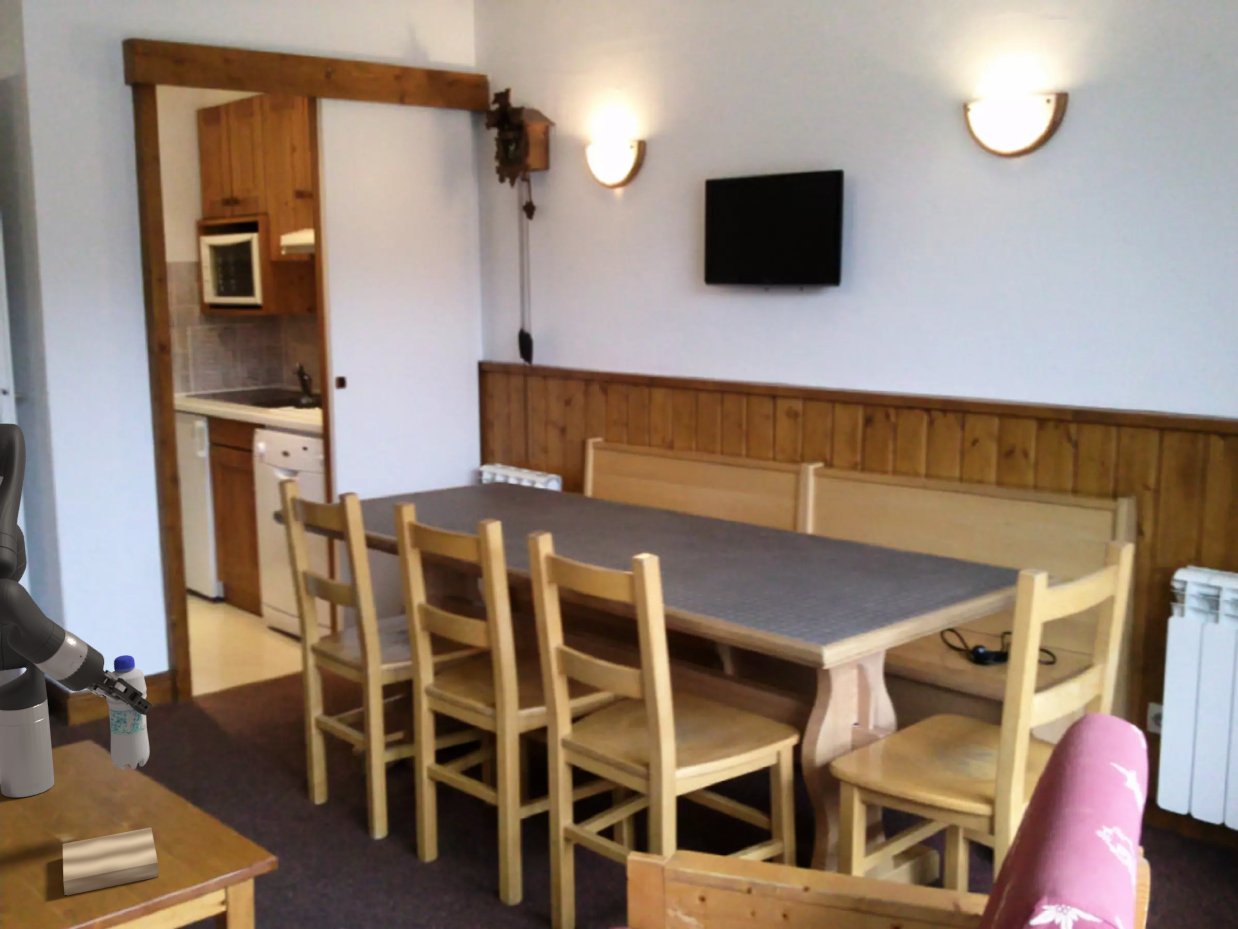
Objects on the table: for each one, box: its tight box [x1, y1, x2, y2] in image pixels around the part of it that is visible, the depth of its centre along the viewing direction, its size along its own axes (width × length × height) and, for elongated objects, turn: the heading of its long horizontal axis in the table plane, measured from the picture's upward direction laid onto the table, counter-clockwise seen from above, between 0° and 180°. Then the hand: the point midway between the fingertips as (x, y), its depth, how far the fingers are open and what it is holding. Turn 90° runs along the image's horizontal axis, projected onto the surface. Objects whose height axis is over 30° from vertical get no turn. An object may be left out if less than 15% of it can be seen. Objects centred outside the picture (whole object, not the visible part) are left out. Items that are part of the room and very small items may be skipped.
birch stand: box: [62, 827, 160, 896], centre depth 200 cm, size 14×14×2 cm
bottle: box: [105, 654, 150, 771], centre depth 210 cm, size 7×7×20 cm
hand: (135, 705), depth 212 cm, fingers closed on bottle, 6 cm apart
